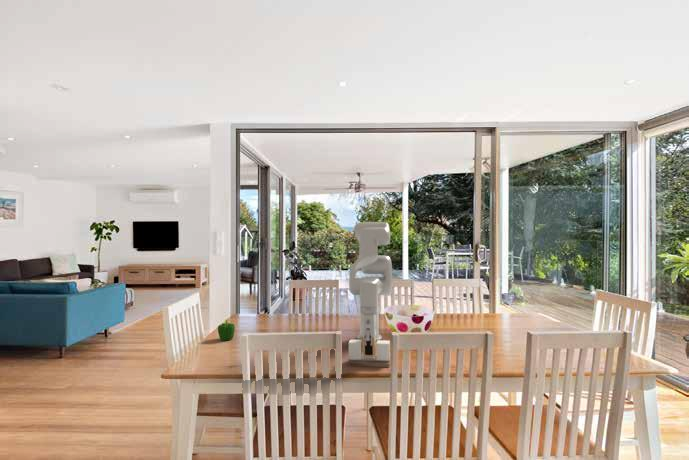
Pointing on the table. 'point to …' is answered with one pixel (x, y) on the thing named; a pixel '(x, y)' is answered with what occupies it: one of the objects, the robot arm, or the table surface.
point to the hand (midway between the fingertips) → (369, 352)
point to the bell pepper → (226, 331)
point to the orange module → (373, 347)
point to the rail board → (377, 361)
